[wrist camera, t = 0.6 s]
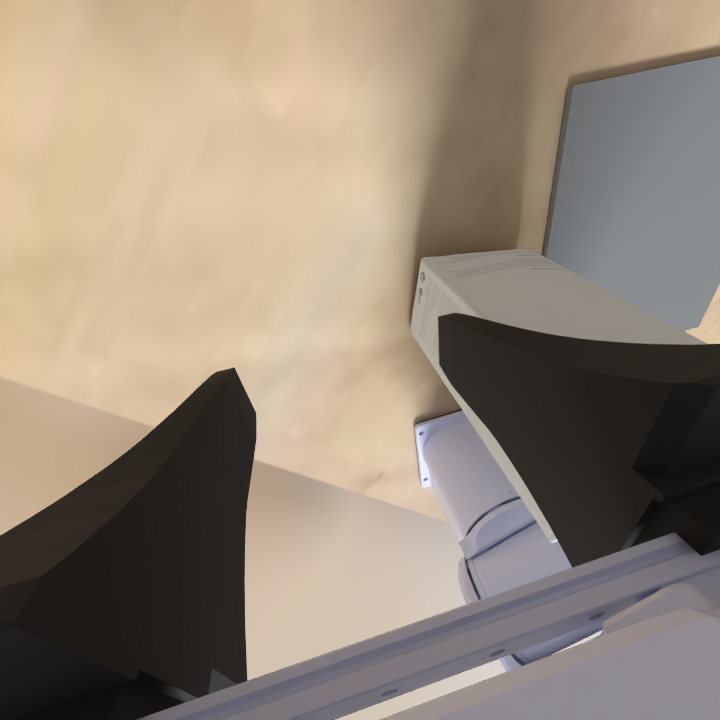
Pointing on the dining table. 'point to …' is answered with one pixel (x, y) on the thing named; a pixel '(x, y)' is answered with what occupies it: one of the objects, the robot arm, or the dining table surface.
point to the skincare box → (525, 317)
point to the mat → (642, 188)
